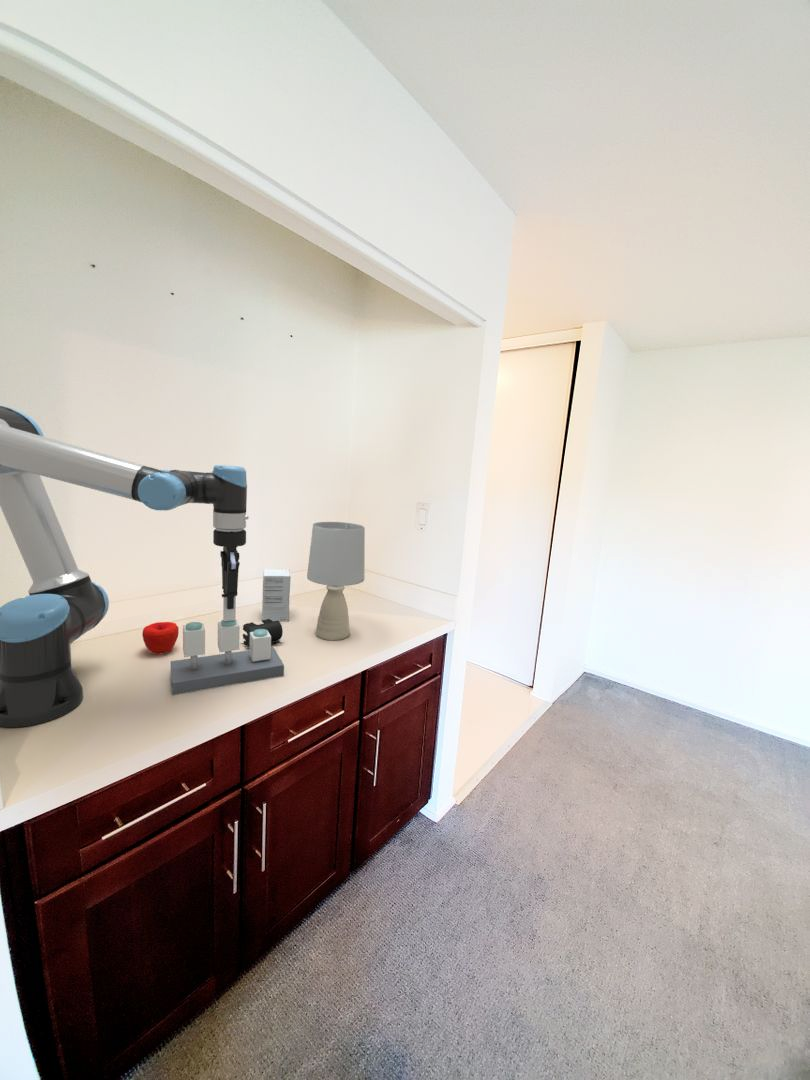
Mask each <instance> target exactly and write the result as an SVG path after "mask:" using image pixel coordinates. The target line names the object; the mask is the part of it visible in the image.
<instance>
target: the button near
mask: <svg viewBox="0 0 810 1080" xmlns="http://www.w3.org/2000/svg"><path fill="white" fill-rule="evenodd" d="M182 650H183V651H182V652H183V657H184V658H188V657H189V658H190V656H197V655H198V656H203V655H204V656H205V654H206V628H205V624H204V622H203V623H202V622H200V621H191V622H188V623H186V624H184V625H182Z"/></svg>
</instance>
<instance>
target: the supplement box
mask: <svg viewBox="0 0 810 1080" xmlns="http://www.w3.org/2000/svg"><path fill="white" fill-rule="evenodd" d="M290 570H291V569H290V568H289V569H287V568H285V569H283V568H281V569H280V568H264V569H263V575H262V600H261V601H262V605H261V606H262V608H261V609H262V611H261V612H262V614H261V621H262V620H266V619H270V620H272V621H279V622H289V620H290V592H291V579H292V578H291V573H290Z"/></svg>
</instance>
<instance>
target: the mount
mask: <svg viewBox="0 0 810 1080" xmlns="http://www.w3.org/2000/svg"><path fill="white" fill-rule="evenodd" d="M284 673H285V664H284V663H283V661H282V659H281V657H280V656H279V654H278V652H277V650H276V649H275V647H274V646H271V658H270V659H267V660H260V661H254V662H253V661H252V659H251V657H250V655H249V650H248V649H247V650H241V651H234V652H232V651H226V652H224V653H221V654H213V655H211V654H210V655H204V656H199V655H197V656H190V657H189V658H184V659H177V660H170V680H171V694H172V696H174V695H180V694H181V695H182V694H186V693H193V692H198V691H203V690H204V691H205V690H209V689H216V688H218V687H219V688H220V687H227V686H232V685H238V684H243V683H249V682H254V681H261V680H266V679H272V678H277V677H278V678H279V677H284V676H285V675H284Z"/></svg>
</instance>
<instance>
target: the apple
mask: <svg viewBox="0 0 810 1080" xmlns="http://www.w3.org/2000/svg"><path fill="white" fill-rule="evenodd" d="M141 634H142V640H143V643H144V645H145V647H146V648H147V650H148V651H149V652H150V653H152V654H154V655H163V654H166V653H169V652H171V651H172V650H173V649H174V646H175V645H176V643H177V640H178V637H179V626H178V625H177V623H175V622H171V621H170V622H169V621H159V622H154V623H151V624H148V625H146V626H145V627H143V629H142V632H141Z"/></svg>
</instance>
